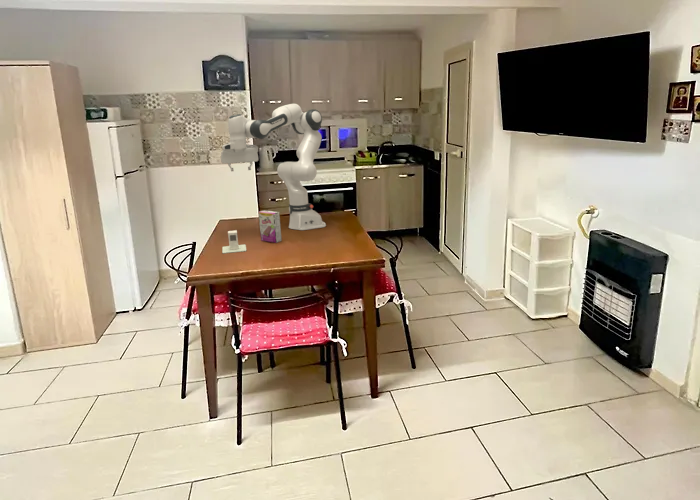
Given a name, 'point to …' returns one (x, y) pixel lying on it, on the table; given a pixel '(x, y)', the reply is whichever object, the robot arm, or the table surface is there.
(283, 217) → the table surface
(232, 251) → the board
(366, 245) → the table surface
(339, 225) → the table surface
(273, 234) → the candy bar box
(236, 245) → the white device with screen
